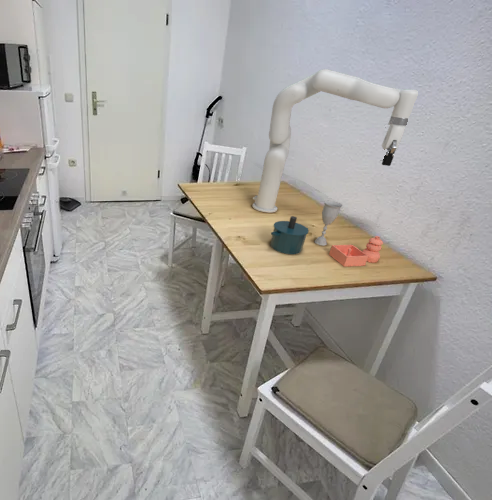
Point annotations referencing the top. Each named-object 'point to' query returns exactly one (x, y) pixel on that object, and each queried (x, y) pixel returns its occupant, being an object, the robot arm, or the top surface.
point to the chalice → (328, 218)
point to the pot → (287, 242)
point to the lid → (291, 227)
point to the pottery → (357, 253)
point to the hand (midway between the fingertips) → (384, 162)
